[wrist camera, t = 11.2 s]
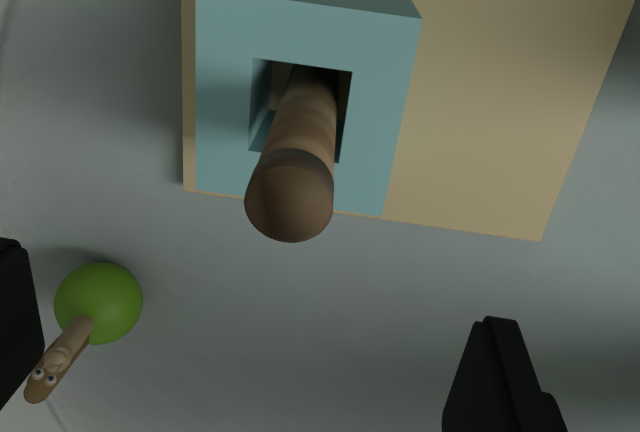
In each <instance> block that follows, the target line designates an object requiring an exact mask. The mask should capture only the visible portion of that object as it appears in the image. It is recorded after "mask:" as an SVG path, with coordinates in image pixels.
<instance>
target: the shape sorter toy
mask: <svg viewBox="0 0 640 432" xmlns="http://www.w3.org/2000/svg"><path fill="white" fill-rule="evenodd" d="M634 2H635V0H181V45H182V120H183V191H188V192H195V193H202V194H209V195H216V196H223V197H230V198H237V199H244V197H245V192H246V189H247V186H248V184H249V181H250V178H251V175H252V173H253V170H254V168H255V167H256V165H257V163H258V161H259V158H260V155H261V153H262V150H263V147H264V144H265V142H266V139H267V136H268V133H269V131H270V128H271V125H272V122H273V120H274V117H275V114H276V111H277V108H278V106H279V103H280V100H281V97H282V95H283V92H284V89H285V86H286V84H287V81H288V78H289V75H290V73H291V70H292V68H293V66H294V64H302V65H309V66H316V67H323V68H331V69H337V71H338V76H339V82H338V100H337V119H336V137H335V155H334V173H333V181H334V203H333V212H334V213H341V214H348V215H355V216H362V217H369V218H376V219H383V220H390V221H397V222H404V223H411V224H418V225H425V226H432V227H439V228H445V229H452V230H459V231H466V232H473V233H480V234H487V235H494V236H501V237H508V238H515V239H522V240H529V241H536V242H540V240H541V238H542V235H543V233H544V230H545V228H546V225H547V223H548V220H549V218H550V215H551V212H552V210H553V207H554V205H555V202H556V200H557V197H558V195H559V192H560V190H561V187H562V185H563V182H564V180H565V177H566V174H567V172H568V169H569V167H570V164H571V162H572V159H573V157H574V154H575V152H576V149H577V147H578V144H579V142H580V139H581V136H582V134H583V131H584V129H585V126H586V124H587V121H588V119H589V116H590V114H591V111H592V109H593V106H594V103H595V101H596V98H597V96H598V93H599V91H600V88H601V86H602V83H603V81H604V78H605V76H606V73H607V71H608V68H609V65H610V63H611V60H612V58H613V55H614V53H615V50H616V48H617V45H618V43H619V40H620V38H621V35H622V33H623V30H624V27H625V25H626V22H627V20H628V17H629V15H630V12H631V10H632V7H633V5H634Z"/></svg>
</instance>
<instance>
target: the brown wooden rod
mask: <svg viewBox="0 0 640 432" xmlns="http://www.w3.org/2000/svg"><path fill="white" fill-rule="evenodd" d="M338 82H339V76H338V71H337V69H331V68H323V67H316V66H309V65H302V64H294V66H293V68H292V70H291V73H290V75H289V78H288V81H287V84H286V86H285V89H284V92H283V95H282V97H281V100H280V103H279V106H278V108H277V111H276V114H275V117H274V120H273V122H272V125H271V128H270V131H269V133H268V136H267V139H266V142H265V144H264V147H263V150H262V153H261V155H260V158H259V161H258V163H257V165H256V167H255V168H254V170H253V173H252V175H251V178H250V181H249V184H248V186H247V189H246V192H245V197H244V206H245V211H246V214H247V216H248V218H249V220H250V222H251V223H252V224H253V226H254V227H255V228H256V229H257V230H258V231H259V232H261V233H262V234H264V235H265V236H267V237H269V238H271V239H274V240H277V241H281V242H288V243H295V242H302V241H306V240H308V239H311V238H313V237H315V236H316V235H318V234H319V233H321V232H322V231H323V230H324V229H325V227H326V226H327V225H328V223H329V221H330V219H331V217H332V213H333V203H334V181H333V173H334V155H335V137H336V119H337V100H338Z"/></svg>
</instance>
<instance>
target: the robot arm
mask: <svg viewBox="0 0 640 432" xmlns="http://www.w3.org/2000/svg"><path fill="white" fill-rule="evenodd" d="M44 348H45V342H44V337H43V331H42V326H41V321H40V315H39V310H38V304H37V299H36V294H35V288H34V283H33V278H32V272H31V267H30V262H29V256H28V253H27V251H26V249H24V248H22V247H21V244H20V243H19V242H18V241H17V240H14V239H8V238H2V237H0V410H1V409H2V408H3V407H4V405H5V404H6V403H7V402H8V400H9V399H10V398H11V396H12V395H13V394H14V393H15V391H16V390H17V389H18V388H19V386H20V385H21V384H22V383H23V381H24V380H25V379H26V378H27V376H28V375H29V374H30V373H31V371H32V370H33V369H34V368H35V366H36V365H37V364H38V363H39V361H40V360H41V358H42V356H43V353H44ZM442 432H568V431H567V428H566V426H565V423H564V420H563V418H562V415H561V412H560V410H559V407H558V404H557V402H556V400H555V398H554V397H553V396H552V395H551V394H550V393H546V392H542V391H541V389H540V386H539V383H538V380H537V377H536V374H535V371H534V369H533V366H532V363H531V360H530V357H529V354H528V351H527V348H526V346H525V343H524V340H523V337H522V334H521V331H520V328H519V325H518V323H517V322H516V321H515V320H511V319H505V318H499V317H492V316H486V317H485V318H484V320H483V322H478V321H476V322H475V323H474V324H473V326H472V329H471V332H470V335H469V338H468V341H467V344H466V347H465V349H464V352H463V355H462V358H461V361H460V364H459V367H458V370H457V373H456V375H455V378H454V381H453V384H452V387H451V390H450V393H449V396H448V399H447V401H446V404H445V407H444V410H443V415H442Z"/></svg>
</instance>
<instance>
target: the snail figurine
mask: <svg viewBox="0 0 640 432" xmlns="http://www.w3.org/2000/svg"><path fill="white" fill-rule="evenodd" d="M142 304H143V298H142V292H141V288H140V286H139V284H138V282H137V280H136V279H135V277H134V276H133V275H132V274H131V273H130V272H129V271H127V270H126V269H125V268H123V267H121V266H119V265H116V264H113V263H108V262H94V263H89V264H86V265H83V266H81V267H79V268H77V269H75V270H74V271H72V272H71V273H70V274H69V275H67V276H66V278H65V279H64V280H63V281H62V283H61V284H60V286H59V288H58V290H57V292H56V295H55V299H54V313H55V317H56V320H57V322H58V324H59V326H60V327H61V329H62V330H63V332H62V334H61V335H60V336H59V337H58V338H57V339H56V340H55V341H54V342H53V343H52V344H51V345H50V346H49V347H48V349H47V350H46V351H45V353H44V354H43V356H42V358H41V360H40V361H39V363H38V364H37V365H36V366H35V368H34V369H33V371H32V373H31V374H30V376H29V378H28V380H27V385H26V387H25V389H24V398H25V400H26V401H27V402H29V403H32V404H36V403H40V402H42V401H44V400H45V399H46V398H47V397H48V395H49V394H50V393H51V392H52V390H53V389H54V388H55V386H56V385H57V384H58V382H59V381H60V380H61V378H62V377H63V376H64V374H65V373H66V372H67V370H68V369H69V368H70V366H71V365H72V364H73V362H74V361H75V360H76V358H77V357H78V356H79V354H80V353H81V352H82V350H83V349H84V348H85V347H86V346H87V345H88V344H91V345H100V344H106V343H110V342H113V341H115V340H117V339H119V338H121V337H122V336H124V335H125V334H126V333H128V332H129V331H130V330H131V329H132V328H133V326H134V325H135V324H136V322H137V320H138V318H139V316H140V313H141V310H142Z"/></svg>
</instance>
